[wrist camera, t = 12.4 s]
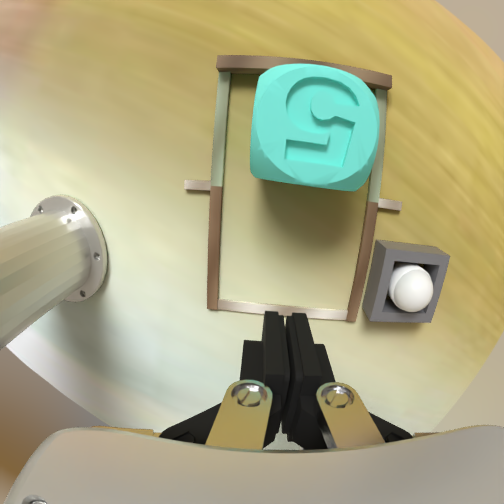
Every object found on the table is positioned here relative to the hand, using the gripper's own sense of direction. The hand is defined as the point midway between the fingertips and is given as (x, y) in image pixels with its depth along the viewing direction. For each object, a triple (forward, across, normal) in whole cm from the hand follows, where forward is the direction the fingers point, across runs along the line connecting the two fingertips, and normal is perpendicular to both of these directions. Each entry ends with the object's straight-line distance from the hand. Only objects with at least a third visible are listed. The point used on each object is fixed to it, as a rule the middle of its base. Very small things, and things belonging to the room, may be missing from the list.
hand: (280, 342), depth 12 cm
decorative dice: (+16, -2, -10) cm, 19 cm away
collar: (+15, -13, +2) cm, 20 cm away
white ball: (+14, -13, +2) cm, 20 cm away
